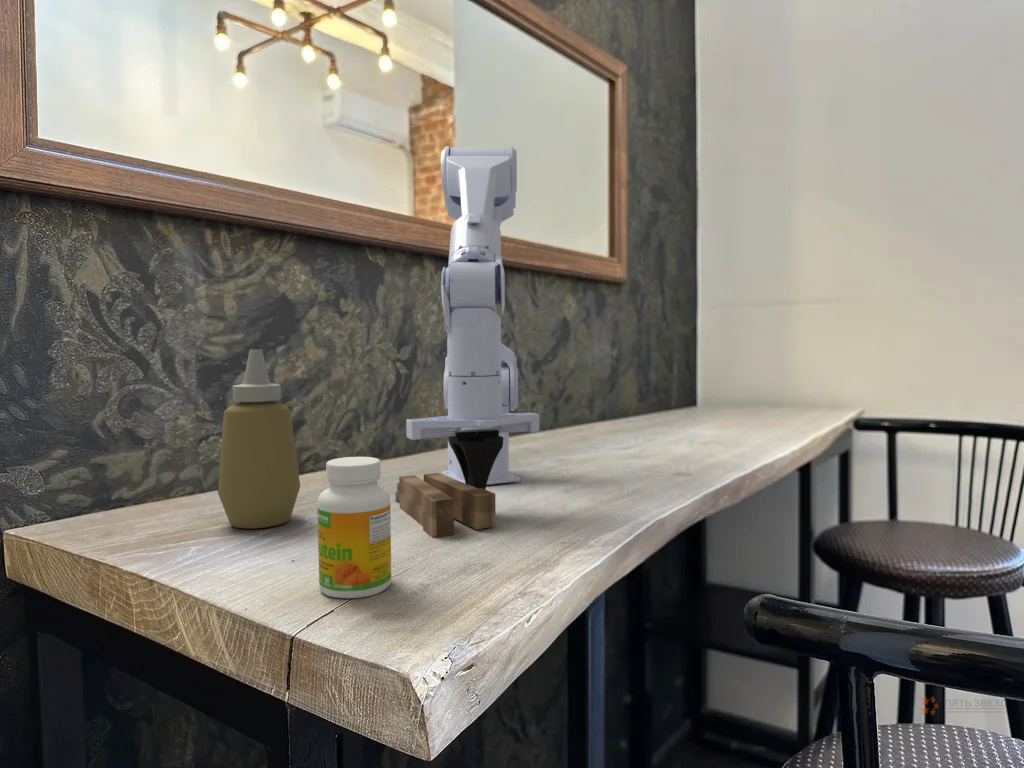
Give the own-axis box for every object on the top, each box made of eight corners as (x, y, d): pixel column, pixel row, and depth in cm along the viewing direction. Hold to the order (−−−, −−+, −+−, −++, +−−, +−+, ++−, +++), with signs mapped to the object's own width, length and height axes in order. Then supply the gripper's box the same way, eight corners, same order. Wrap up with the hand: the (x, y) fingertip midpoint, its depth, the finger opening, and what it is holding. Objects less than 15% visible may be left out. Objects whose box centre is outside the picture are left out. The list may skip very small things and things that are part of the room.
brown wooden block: (385, 498, 81) (385, 469, 81) (421, 495, 83) (420, 466, 82) (432, 537, 65) (431, 501, 65) (475, 531, 67) (474, 496, 66)
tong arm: (393, 497, 81) (392, 469, 81) (426, 493, 83) (425, 466, 83) (457, 532, 66) (457, 498, 66) (495, 526, 68) (495, 493, 68)
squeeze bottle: (274, 535, 66) (269, 349, 65) (200, 531, 67) (194, 350, 66) (315, 514, 74) (311, 348, 72) (248, 511, 75) (243, 349, 74)
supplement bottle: (303, 592, 51) (300, 463, 50) (352, 571, 55) (349, 453, 55) (359, 605, 48) (357, 469, 47) (405, 581, 53) (403, 458, 52)
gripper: (419, 378, 65) (421, 517, 66) (552, 375, 71) (552, 502, 72) (400, 376, 72) (402, 502, 73) (523, 372, 78) (524, 489, 79)
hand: (475, 501), depth 73 cm, fingers closed
